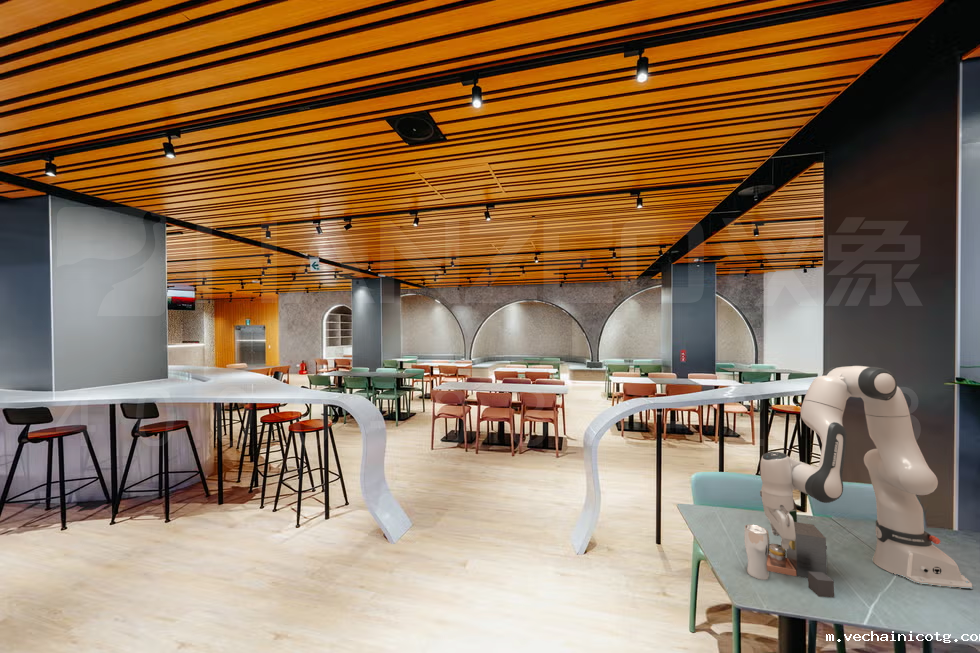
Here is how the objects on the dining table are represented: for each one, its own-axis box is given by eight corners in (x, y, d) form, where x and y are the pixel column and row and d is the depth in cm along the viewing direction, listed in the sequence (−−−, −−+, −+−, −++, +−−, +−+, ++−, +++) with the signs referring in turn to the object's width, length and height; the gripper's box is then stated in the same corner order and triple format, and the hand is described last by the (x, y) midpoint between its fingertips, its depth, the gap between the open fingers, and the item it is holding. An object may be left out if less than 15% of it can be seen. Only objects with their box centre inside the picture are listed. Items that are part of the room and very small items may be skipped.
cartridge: (783, 562, 134) (783, 544, 134) (788, 569, 129) (787, 551, 130) (767, 559, 135) (767, 542, 136) (772, 566, 131) (771, 548, 131)
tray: (788, 563, 134) (788, 558, 135) (796, 576, 127) (796, 570, 127) (761, 558, 137) (760, 553, 138) (767, 570, 130) (767, 565, 130)
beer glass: (763, 583, 123) (761, 536, 124) (740, 571, 130) (739, 526, 130) (774, 577, 127) (773, 531, 127) (752, 566, 133) (751, 522, 133)
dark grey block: (816, 565, 133) (815, 524, 134) (829, 582, 124) (827, 538, 124) (785, 560, 136) (784, 520, 137) (795, 576, 127) (794, 533, 128)
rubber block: (823, 588, 121) (823, 572, 121) (834, 597, 117) (833, 581, 117) (808, 587, 121) (808, 571, 122) (818, 596, 117) (817, 579, 117)
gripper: (800, 514, 122) (803, 558, 121) (778, 491, 141) (781, 529, 140) (776, 511, 124) (779, 555, 124) (758, 489, 143) (760, 526, 143)
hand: (780, 541), depth 132 cm, fingers open, 8 cm apart
